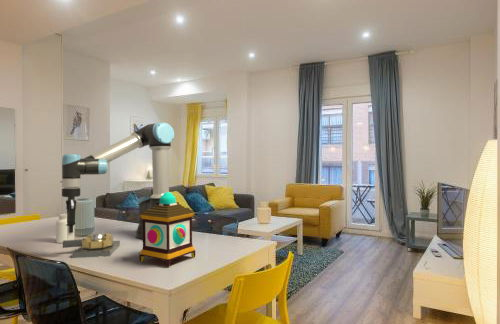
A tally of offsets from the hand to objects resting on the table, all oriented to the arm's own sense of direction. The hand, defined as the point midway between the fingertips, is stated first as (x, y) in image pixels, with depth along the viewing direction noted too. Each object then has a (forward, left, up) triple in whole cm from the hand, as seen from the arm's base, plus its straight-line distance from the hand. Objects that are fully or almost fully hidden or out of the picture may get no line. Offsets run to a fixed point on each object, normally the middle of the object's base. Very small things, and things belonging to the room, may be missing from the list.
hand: (70, 239), depth 154 cm
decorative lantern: (-44, +12, -8) cm, 47 cm away
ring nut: (-5, -7, -5) cm, 10 cm away
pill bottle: (+15, -32, -8) cm, 36 cm away
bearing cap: (-9, -8, -8) cm, 15 cm away
